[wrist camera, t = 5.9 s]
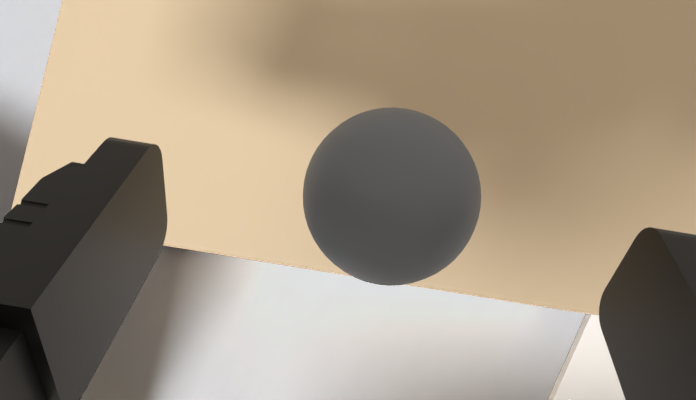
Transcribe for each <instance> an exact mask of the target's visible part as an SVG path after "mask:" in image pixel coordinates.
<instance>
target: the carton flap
mask: <svg viewBox="0 0 696 400" xmlns="http://www.w3.org/2000/svg"><path fill="white" fill-rule="evenodd" d="M109 137H114V138H120V139H126V140H132V141H138V142H144V143H150V144H156V145H158V146H159V148H160V150H161V153H162V160H163V171H164V183H165V194H166V206H167V231H166V236H165V240H164V244H163V245H168V246H174V247H180V248H186V249H193V250H199V251H205V252H211V253H217V254H224V255H230V256H236V257H242V258H248V259H255V260H261V261H267V262H273V263H279V264H286V265H292V266H298V267H304V268H310V269H317V270H323V271H329V272H335V273H341V274H348V275H351V276H353V277H355V278H358V279H360V280H363V281H366V282H370V283H374V284H379V285H404V284H410V285H416V286H422V287H428V288H434V289H441V290H447V291H453V292H459V293H465V294H472V295H478V296H484V297H490V298H496V299H503V300H509V301H515V302H521V303H527V304H534V305H540V306H546V307H552V308H558V309H565V310H571V311H577V312H583V313H589V314H596V315H599V305H600V300H601V297H602V294H603V292H604V290H605V288H606V286H607V284H608V283H609V281H610V279H611V278H612V276H613V274H614V273H615V271H616V269H617V268H618V266H619V264H620V263H621V261H622V259H623V258H624V256H625V254H626V253H627V251H628V249H629V248H630V246H631V244H632V243H633V241H634V239H635V238H636V236H637V235H638V234H639V233H640V231H642V230H643V229H645V228H648V227H652V228H658V229H664V230H670V231H676V232H682V233H688V234H694V235H696V0H62V4H61V8H60V13H59V17H58V21H57V25H56V29H55V33H54V37H53V41H52V45H51V49H50V53H49V57H48V62H47V66H46V70H45V74H44V78H43V82H42V86H41V90H40V94H39V98H38V102H37V106H36V111H35V115H34V119H33V123H32V127H31V131H30V135H29V139H28V143H27V147H26V151H25V155H24V160H23V164H22V168H21V172H20V176H19V180H18V184H17V188H16V192H15V196H14V200H13V204H12V209H13V208H14V207H15V206H16V205H17V204H21V199H22V198H23V197H24V196H25V195H26V194H27V193H28V192H29V191H30V190H31V189H32V188H33V187H34V186H35V185H36V183H37V182H38V181H39V180H40V179H41V178H43V177H45V176H46V175H48V174H50V173H52V172H54V171H56V170H58V169H60V168H61V167H63V166H65V165H67V164H69V163H71V162H76V163H82V164H84V163H85V162H86V161H87V160H88V159H89V158H90V156H91V155H92V154H93V153H94V152H95V151H96V150H97V148H98V147H99V146H100V145H101V144H102V143H103V142H104V141H105V140H106V139H107V138H109ZM12 209H11V210H12Z"/></svg>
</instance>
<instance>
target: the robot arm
mask: <svg viewBox="0 0 696 400" xmlns="http://www.w3.org/2000/svg"><path fill="white" fill-rule="evenodd" d="M166 231H167V206H166V194H165V183H164V171H163V160H162V153H161V150H160V148H159V146H158V145H156V144H150V143H144V142H138V141H132V140H126V139H120V138H114V137H109V138H107V139H106V140H105V141H104V142H103V143H102V144H101V145H100V146H99V147H98V148H97V150H96V151H95V152H94V153H93V154H92V155H91V156H90V158H89V159H88V160H87V161H86V162H85V163H84V164H82V163H76V162H71V163H69V164H67V165H65V166H63V167H61V168H60V169H58V170H56V171H54V172H52V173H50V174H48V175H46V176H45V177H43V178H41V179H40V180H39V181H38V182H37V183H36V185H35V186H34V187H33V188H32V189H31V190H30V191H29V192H28V193H27V194H26V195H25V196H24V197H23V198H22V199H21V204H17V205H16V206H15V207H14V208H13V209H12V210H11V211H10V212H9V213H8V214H7V215H6V216H5V217H4V221H3V223H0V400H80V399H81V397H82V395H83V393H84V391H85V390H86V388H87V386H88V384H89V382H90V380H91V379H92V377H93V375H94V373H95V371H96V369H97V368H98V366H99V364H100V362H101V360H102V358H103V357H104V355H105V353H106V351H107V349H108V347H109V346H110V344H111V342H112V340H113V338H114V336H115V335H116V333H117V331H118V329H119V327H120V325H121V324H122V322H123V320H124V318H125V316H126V314H127V313H128V311H129V309H130V307H131V305H132V303H133V302H134V300H135V298H136V296H137V294H138V292H139V291H140V289H141V287H142V285H143V283H144V281H145V280H146V278H147V276H148V274H149V272H150V270H151V268H152V267H153V265H154V263H155V261H156V259H157V257H158V256H159V254H160V252H161V249H162V247H163V244H164V240H165V236H166ZM599 322H600V326H601V330H602V333H603V336H604V338H605V341H606V344H607V347H608V350H609V353H610V356H611V359H612V362H613V365H614V367H615V370H616V373H617V376H618V379H619V382H620V385H621V388H622V391H623V394H624V397H625V399H626V400H696V235H694V234H688V233H682V232H676V231H670V230H664V229H658V228H652V227H648V228H645V229H643V230H642V231H640V233H639V234H638V235H637V236H636V238H635V239H634V241H633V243H632V244H631V246H630V248H629V249H628V251H627V253H626V254H625V256H624V258H623V259H622V261H621V263H620V264H619V266H618V268H617V269H616V271H615V273H614V274H613V276H612V278H611V279H610V281H609V283H608V284H607V286H606V288H605V290H604V292H603V294H602V297H601V300H600V305H599Z"/></svg>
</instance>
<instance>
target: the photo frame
mask: <svg viewBox="0 0 696 400" xmlns="http://www.w3.org/2000/svg"><path fill="white" fill-rule="evenodd" d="M569 399H570V400H626V399H625V397H624V394H623V391H622V388H621V385H620V382H619V379H618V376H617V373H616V370H615V367H614V365H613V362H612V359H611V356H610V353H609V350H608V347H607V344H606V341H605V338H604V336H603V333H602V330H601V326H600V322H599V315H593V314H586V316H585V318H584V320H583V322H582V324H581V327H580V329H579V331H578V333H577V336H576V338H575V340H574V342H573V345H572V347H571V349H570V351H569V353H568V356H567V358H566V360H565V362H564V365H563V367H562V369H561V371H560V374H559V376H558V378H557V380H556V383H555V385H554V387H553V389H552V391H551V394H550V396H549V398H548V400H569Z"/></svg>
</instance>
